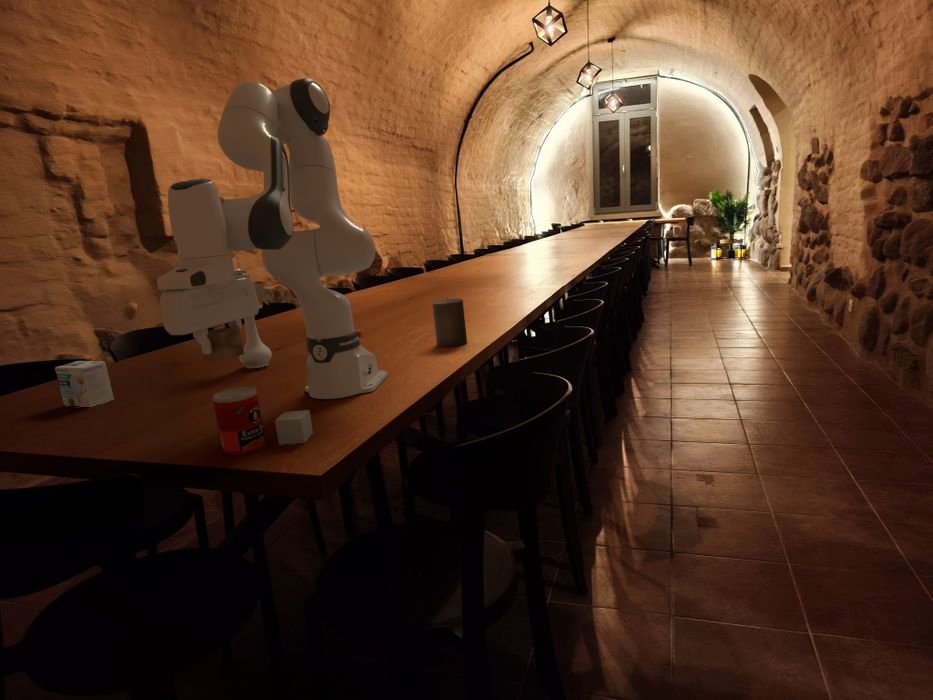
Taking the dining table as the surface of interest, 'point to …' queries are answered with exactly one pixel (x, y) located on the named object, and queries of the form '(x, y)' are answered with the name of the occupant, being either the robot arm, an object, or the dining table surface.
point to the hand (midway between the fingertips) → (222, 349)
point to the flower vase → (255, 337)
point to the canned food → (239, 420)
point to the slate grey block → (294, 427)
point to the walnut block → (224, 344)
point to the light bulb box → (84, 383)
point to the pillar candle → (449, 322)
